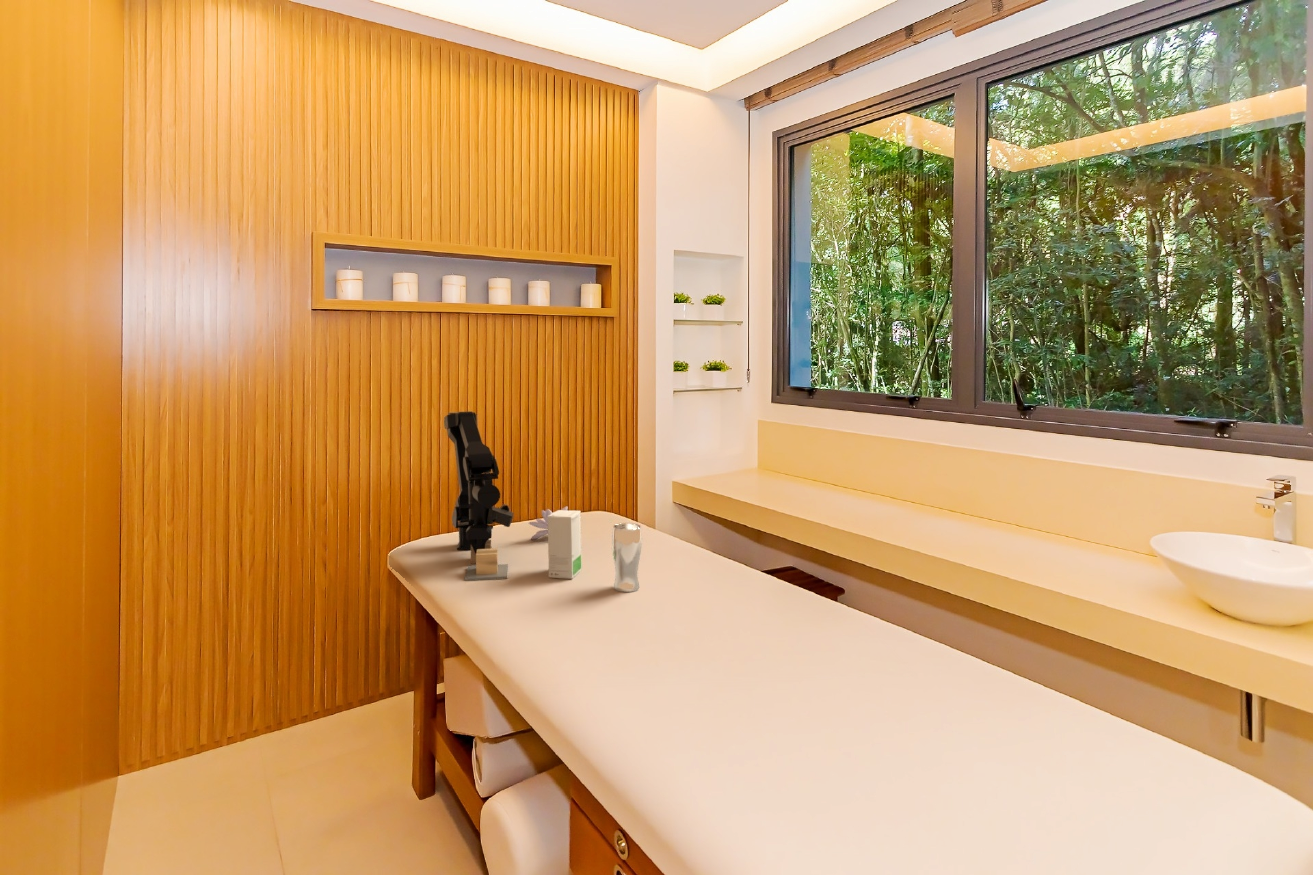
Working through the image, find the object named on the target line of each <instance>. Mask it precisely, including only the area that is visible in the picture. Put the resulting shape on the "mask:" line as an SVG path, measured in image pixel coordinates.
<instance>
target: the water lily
mask: <svg viewBox="0 0 1313 875" xmlns="http://www.w3.org/2000/svg"><path fill="white" fill-rule="evenodd" d="M568 509H569V508H568V506H564V507H562V508H561V510H568ZM551 513H553V512H552V510H550V509H549V508H546V509H545V510H543V509H542V510H541V516H542V518H543V519H542V518H541V519H540V518H536V519H535V521H530V522H528V524H529V525H530V526H533V527H535V528H539V529H540V530H538V531H537V532H535V534H533V535H532V536H531V538H530V540H536V539H540V538H542V537H544V536H546V535H548V516H549V515H550V514H551Z"/></svg>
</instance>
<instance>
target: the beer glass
mask: <svg viewBox="0 0 1313 875" xmlns="http://www.w3.org/2000/svg"><path fill="white" fill-rule="evenodd" d="M611 537H612V538H611V546H612V547H611V550H612V556H613V563H614V570H615V571H614V572H615V578H614V583H613V589H614V590H615V591H617V592H620V593H632V592H633V593H634V592H636V591H638V590H640V581H639V565H640V561H641V555H642V548H643V547H642V546H643V543H642V540H643V538H642V526H641V524H638V523H636V522H635V523H634V522H619V523H616V524H614V525H613V526H612V536H611Z"/></svg>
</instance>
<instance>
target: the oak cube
mask: <svg viewBox="0 0 1313 875" xmlns="http://www.w3.org/2000/svg"><path fill="white" fill-rule="evenodd" d="M498 555H499V554H498V547H497V548H491V549H477V552H476V564H475V566H476V575H479V574H497V571H498V565H499V561H498V560H499V559H498Z"/></svg>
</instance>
